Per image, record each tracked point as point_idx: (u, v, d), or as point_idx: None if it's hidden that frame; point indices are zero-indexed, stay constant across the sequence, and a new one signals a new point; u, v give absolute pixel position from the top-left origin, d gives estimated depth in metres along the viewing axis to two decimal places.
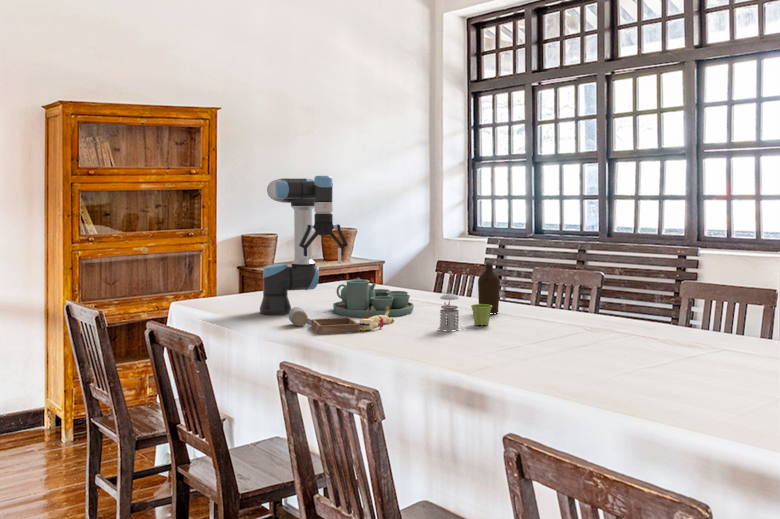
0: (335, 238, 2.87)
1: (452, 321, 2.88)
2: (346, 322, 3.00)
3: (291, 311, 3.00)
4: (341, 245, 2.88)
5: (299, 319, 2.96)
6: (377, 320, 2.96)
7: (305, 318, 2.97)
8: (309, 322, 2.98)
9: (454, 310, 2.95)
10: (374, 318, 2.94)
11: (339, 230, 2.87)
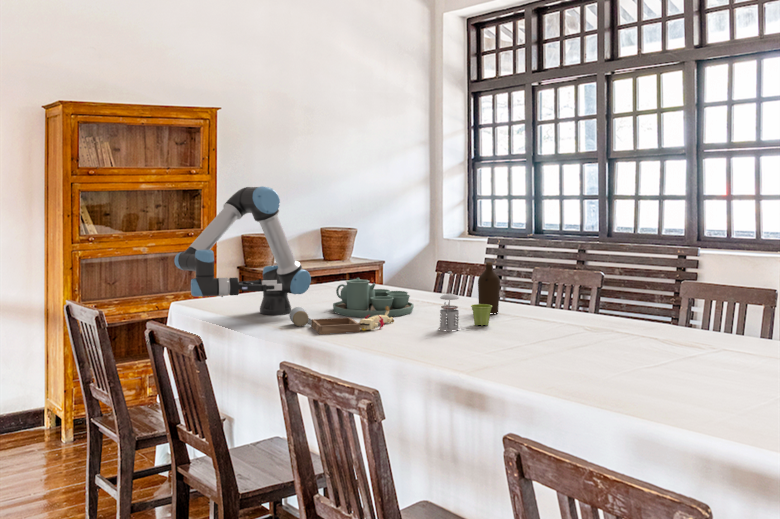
0: None
1: (452, 321, 2.88)
2: (346, 322, 3.00)
3: (292, 311, 3.00)
4: None
5: (300, 319, 2.96)
6: (377, 320, 2.96)
7: (306, 318, 2.97)
8: (310, 322, 2.99)
9: (454, 310, 2.95)
10: (374, 318, 2.94)
11: (248, 290, 2.86)
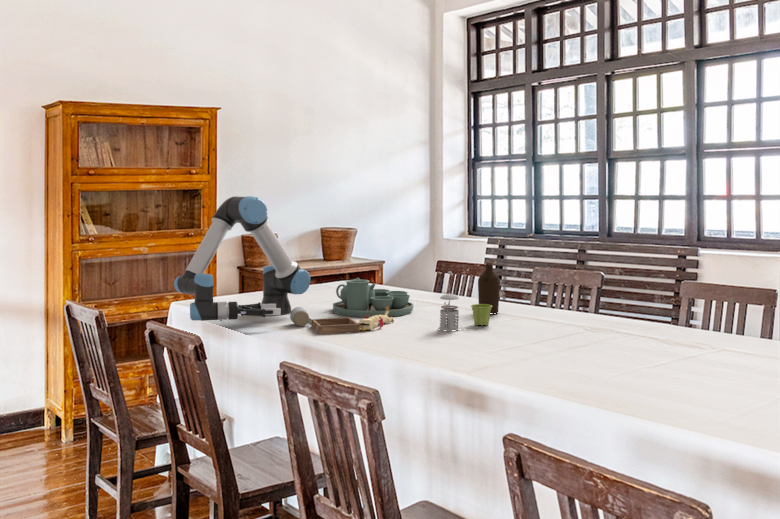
0: None
1: (452, 321, 2.88)
2: (346, 322, 3.00)
3: (293, 311, 3.00)
4: None
5: (300, 319, 2.96)
6: (377, 320, 2.96)
7: (307, 318, 2.97)
8: (311, 322, 2.99)
9: (454, 310, 2.95)
10: (374, 318, 2.94)
11: (247, 315, 2.87)
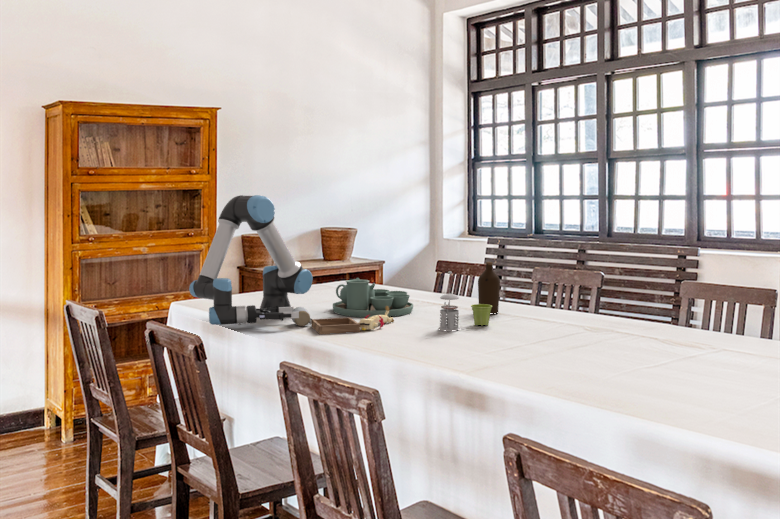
0: None
1: (452, 321, 2.88)
2: (346, 322, 3.00)
3: (294, 311, 3.00)
4: None
5: (302, 319, 2.96)
6: (377, 320, 2.96)
7: (308, 318, 2.97)
8: None
9: (454, 310, 2.95)
10: (374, 318, 2.94)
11: None
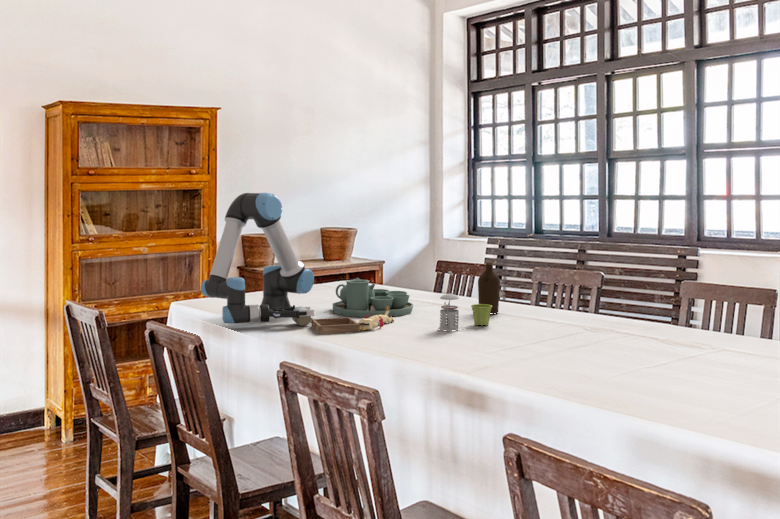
0: None
1: (452, 321, 2.88)
2: (346, 322, 3.00)
3: (294, 310, 3.00)
4: None
5: (302, 319, 2.97)
6: (377, 320, 2.96)
7: (309, 317, 2.97)
8: None
9: (454, 310, 2.95)
10: (374, 318, 2.94)
11: (280, 317, 2.92)
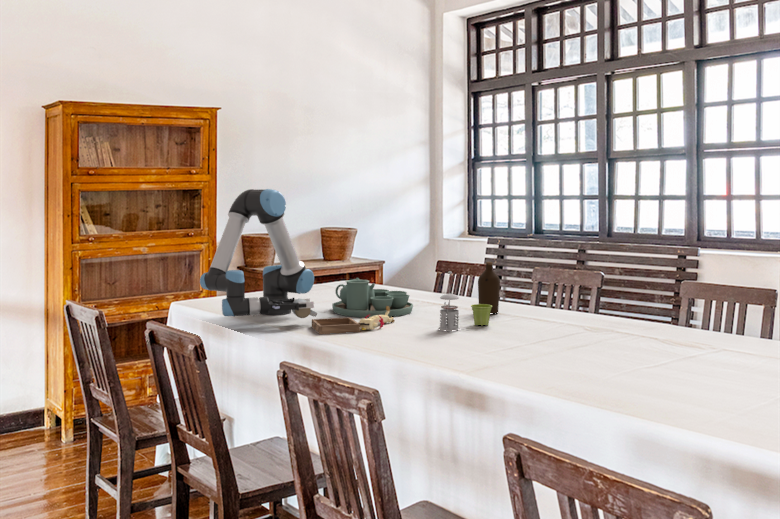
0: None
1: (452, 321, 2.88)
2: (346, 322, 3.00)
3: None
4: None
5: (302, 311, 2.96)
6: (377, 320, 2.96)
7: (308, 310, 2.97)
8: (312, 313, 2.99)
9: (454, 310, 2.95)
10: (374, 318, 2.94)
11: (280, 309, 2.91)
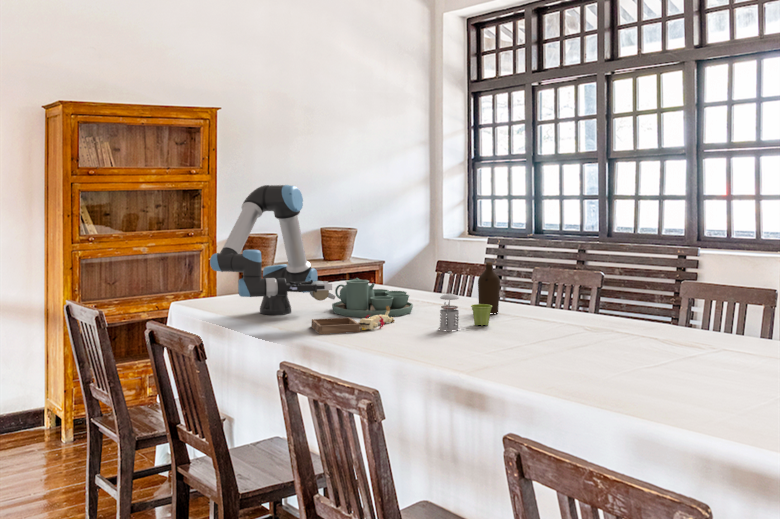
0: None
1: (452, 321, 2.88)
2: (346, 322, 3.00)
3: None
4: None
5: (320, 293, 2.88)
6: (377, 320, 2.97)
7: (326, 292, 2.89)
8: (330, 296, 2.90)
9: (454, 310, 2.95)
10: (374, 318, 2.95)
11: (298, 291, 2.83)
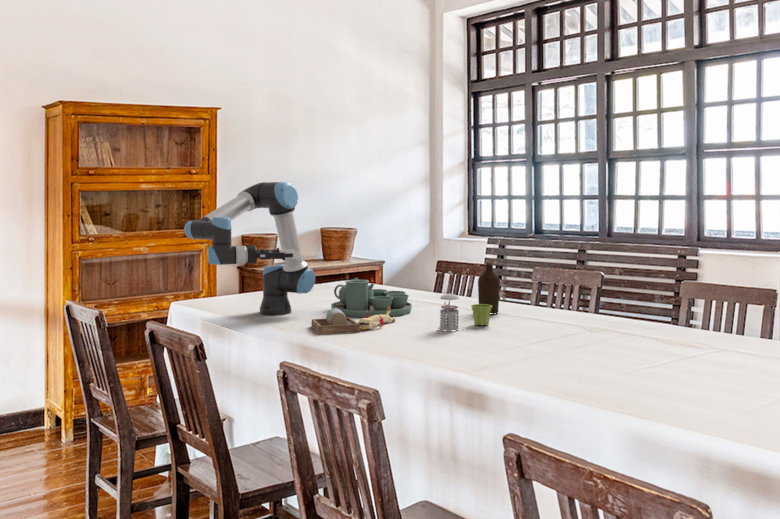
0: None
1: (452, 321, 2.88)
2: None
3: (329, 313, 2.91)
4: (282, 258, 2.80)
5: (338, 321, 2.87)
6: (377, 319, 2.97)
7: (344, 320, 2.88)
8: None
9: (454, 310, 2.95)
10: (374, 317, 2.95)
11: (266, 258, 2.79)
